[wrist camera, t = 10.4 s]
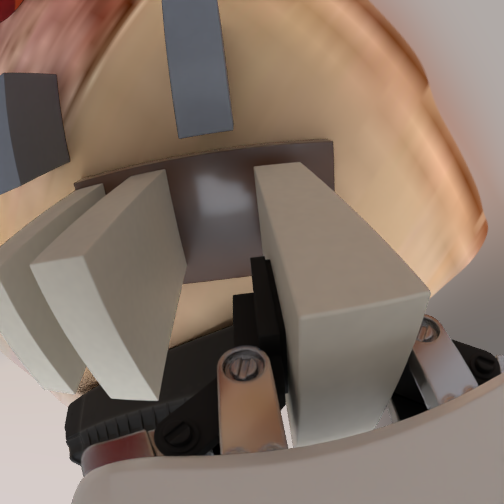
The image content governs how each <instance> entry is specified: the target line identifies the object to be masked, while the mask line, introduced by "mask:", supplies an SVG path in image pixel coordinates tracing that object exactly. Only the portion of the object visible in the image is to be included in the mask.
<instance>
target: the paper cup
mask: <svg viewBox="0 0 504 504" xmlns="http://www.w3.org/2000/svg"><path fill="white" fill-rule="evenodd" d="M22 1H23V0H0V22H2V21H4V20H5V19H7V18H8V17H9V16H10V15H11V14H12V13H13V12H14V11H15V10H16V9H17V8H18V7H19V5H20V4H21V3H22Z"/></svg>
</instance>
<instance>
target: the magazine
mask: <svg viewBox="0 0 504 504" xmlns="http://www.w3.org/2000/svg"><path fill="white" fill-rule="evenodd" d="M232 348H233V325H232V326H230V327H227V328H224V329H222V330H219V331H217V332H214V333H211V334H208V335H206V336H203V337H200V338H198V339H195V340H193V341H190V342H188V343H185V344H183V345H180V346H178V347H175V348H173V349H170V350H168V352H167V357H166V362H165V367H164V372H163V378H162V383H161V389H160V394H159V400H158V401H146V400H125V399H112V398H110V397H109V395H108V394H107V393H106V392H105V390H104V389H103V388H102V386H101V385H99V386H97V387H95V388H94V389H92V390H90V391H89V392H87V393H86V394H84V395H82V396H81V397H79V398H78V399H76V400H75V401H74V402H72V403H71V404H70V405H69V407H68V412H67V417H66V422H65V431H66V440H67V441H66V443H67V445H68V447H69V451H70V460H71V461H72V462H74V463H76V464H78V465H80V466H81V457H82V454H83V452H84V451H85V450H86V449H87V447H89V446H91V445H93V444H96V443H100V442H104V441H108V440H111V439H115V438H119V437H122V436H125V435H129V434H132V433H135V432H138V431H141V430H144V429H146V430H147V432H148V431H151V430H154V429H156V427H157V425H158V424H159V423H160V422H161V421H162V420H163V419H164V418H165V417H167V416H168V415H169V414H171V413H172V412H173V411H175V410H176V409H177V408H179V407H180V406H181V405H182V404H184V403H185V402H186V401H187V400H189V399H190V398H191V397H193V396H194V395H195V394H196V393H198V392H199V391H200V390H201V389H203V388H204V387H205V386H206V385H207V384H209V383H210V382H211V381H212V380H214V379H215V378H216V377H217V364H218V361H219V359H220V358H221V356H222V355H223V354H224V353H225V352H226V351H228V350H230V349H232ZM280 411H281V410H280Z"/></svg>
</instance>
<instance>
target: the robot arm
mask: <svg viewBox="0 0 504 504" xmlns="http://www.w3.org/2000/svg"><path fill="white" fill-rule="evenodd" d="M250 263H251V273H252V282H253V292H254V293H247V294H239V295H233V348H232V349H230V350H228V351H226V352H225V353H224V354H223V355H222V356H221V358H220V359H219V361H218V364H217V377H216V378H215V379H214V380H212V381H211V382H210V383H209V384H207V385H206V386H205V387H204V388H203V389H201V390H200V391H199V392H198V393H196V394H195V395H194V396H193V397H191V398H190V399H189V400H187V401H186V402H185V403H184V404H182V405H181V406H180V407H179V408H177V409H176V410H175V411H173V412H172V413H171V414H169V415H168V416H167V417H165V418H164V419H163V420H162V421H161V422H160V423H159V424H158V425H157V427H156V429H154V430H151V431H148V432H147V430H146V429H144V430H141V431H138V432H135V433H132V434H129V435H125V436H122V437H119V438H115V439H111V440H108V441H104V442H100V443H96V444H93V445H91V446H89V447H87V449H86V450H85V451H84V452H83V454H82V457H81V467H82V472H83V476H84V478H83V479H82V480H81V482H80V483H79V485H78V487H77V489H76V492H75V494H74V497H73V500H72V503H71V504H504V355H496V357H494V356H493V355H492V354H491V353H489V352H487V351H484V350H481V349H478V348H475V347H472V346H470V345H467V344H464V343H461V342H458V341H455V340H452V339H450V337H449V335H448V333H447V332H446V331H445V329H444V328H443V326H442V324H441V323H440V322H439V321H438V320H437V319H435V318H434V317H432V316H429V315H426V314H424V317H423V320H422V323H421V326H420V329H419V332H418V335H417V337H416V340H415V343H414V346H413V348H412V351H411V353H410V356H409V358H408V361H407V363H406V366H405V368H404V370H403V373H402V375H401V377H400V379H399V382H398V384H397V386H396V388H395V390H394V392H393V394H392V397H391V399H390V401H389V403H388V405H387V409H388V412H389V415H390V418H391V421H392V424H390V425H387V426H384V427H381V428H378V429H374V430H371V431H367V432H364V433H360V434H357V435H353V436H349V437H345V438H341V439H337V440H332V441H328V442H323V443H318V444H313V445H308V446H302V447H296V448H290V449H288V445H287V440H286V435H285V430H284V426H283V421H282V416H281V411H280V410H281V409H282V408H283V407H284V406H285V405H286V399H285V394H287V393H288V366H287V343H286V332H285V326H284V321H283V316H282V311H281V307H280V302H279V298H278V293H277V288H276V284H275V279H274V275H273V270H272V266H271V261H270V259H267V260H265V256H260V257H252V258H250Z"/></svg>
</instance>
